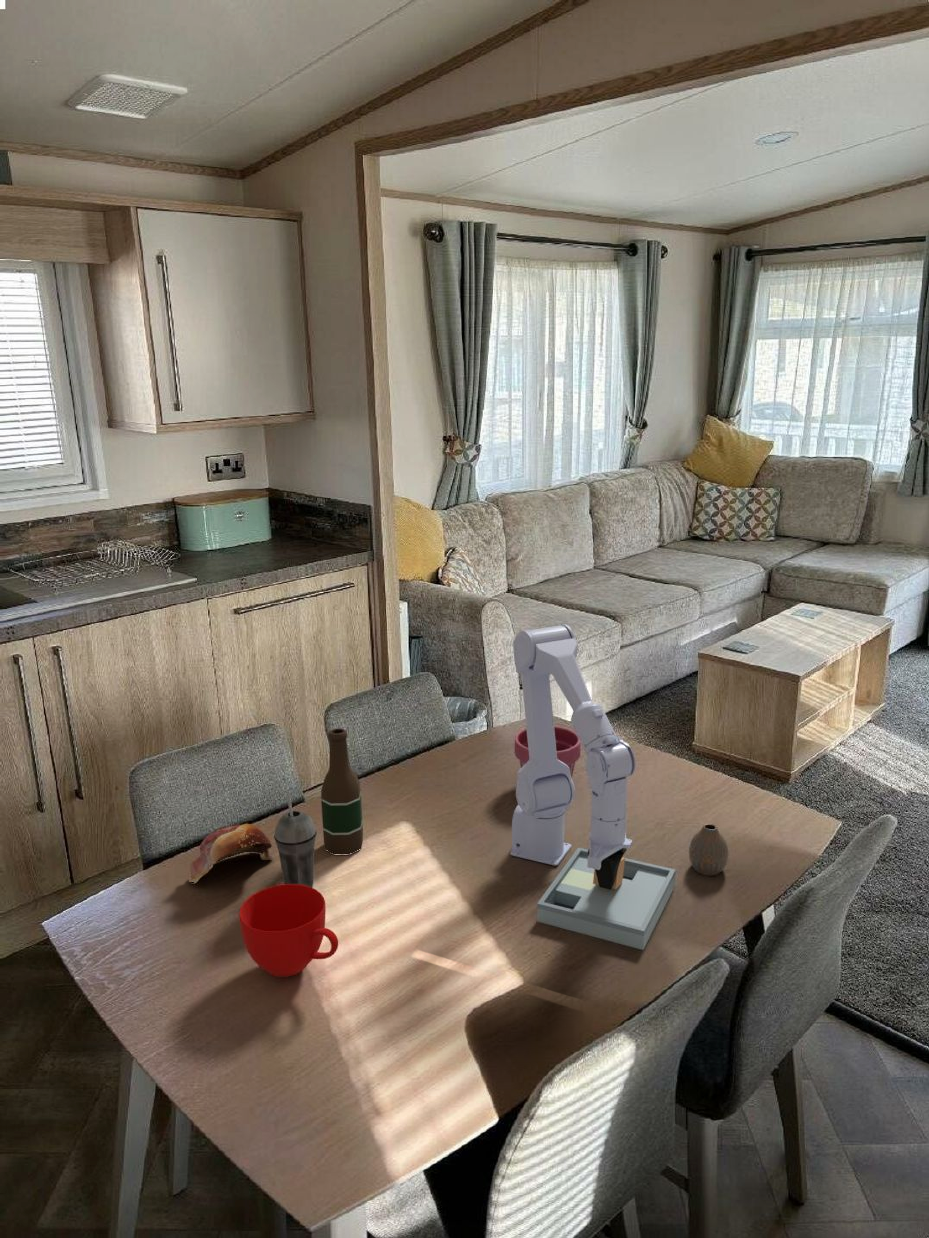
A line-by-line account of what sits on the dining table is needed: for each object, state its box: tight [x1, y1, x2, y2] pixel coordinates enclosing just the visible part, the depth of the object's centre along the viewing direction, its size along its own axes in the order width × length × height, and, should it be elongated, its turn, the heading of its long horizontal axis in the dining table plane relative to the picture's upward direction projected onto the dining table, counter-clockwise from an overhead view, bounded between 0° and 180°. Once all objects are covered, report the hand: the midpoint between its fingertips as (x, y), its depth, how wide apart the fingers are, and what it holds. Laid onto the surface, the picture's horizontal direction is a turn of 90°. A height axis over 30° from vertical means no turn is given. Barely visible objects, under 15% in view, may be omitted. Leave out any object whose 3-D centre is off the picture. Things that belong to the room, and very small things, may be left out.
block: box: [593, 856, 626, 889], centre depth 155 cm, size 4×4×4 cm
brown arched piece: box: [189, 823, 272, 884], centre depth 165 cm, size 16×13×10 cm
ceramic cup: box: [238, 883, 339, 978], centre depth 138 cm, size 13×17×10 cm
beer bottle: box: [320, 728, 364, 855], centre depth 172 cm, size 8×8×24 cm
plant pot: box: [514, 725, 582, 779], centre depth 194 cm, size 14×14×13 cm
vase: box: [688, 823, 729, 877], centre depth 163 cm, size 7×7×9 cm
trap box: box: [536, 847, 677, 951], centre depth 154 cm, size 18×20×3 cm
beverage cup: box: [273, 791, 318, 888], centre depth 157 cm, size 7×7×20 cm
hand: (606, 886), depth 153 cm, fingers closed
